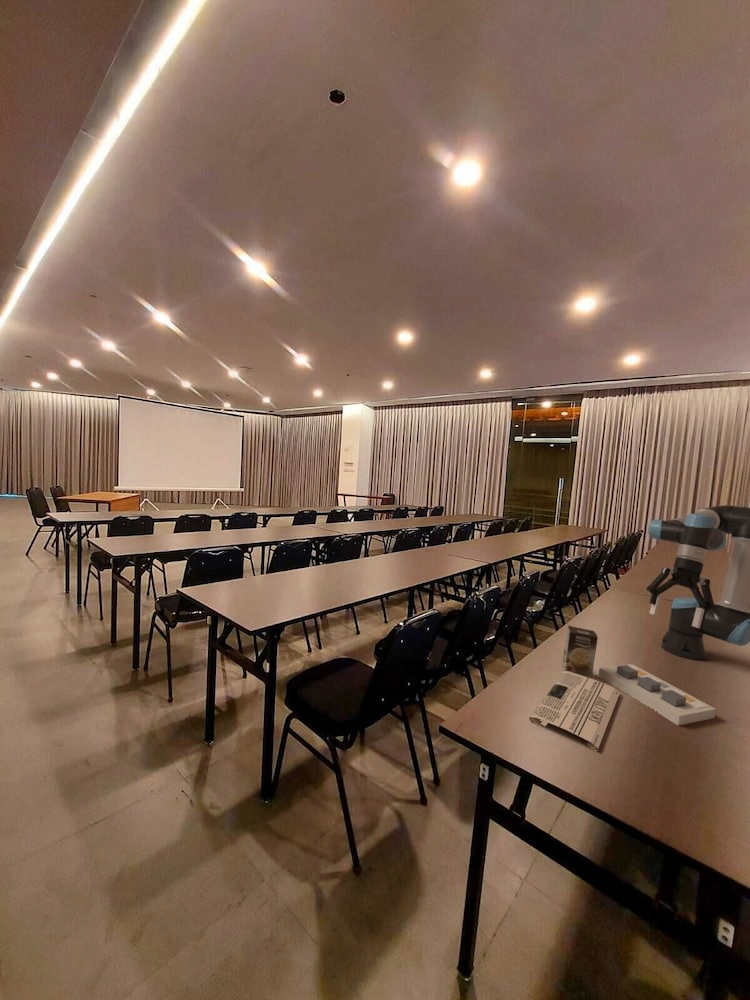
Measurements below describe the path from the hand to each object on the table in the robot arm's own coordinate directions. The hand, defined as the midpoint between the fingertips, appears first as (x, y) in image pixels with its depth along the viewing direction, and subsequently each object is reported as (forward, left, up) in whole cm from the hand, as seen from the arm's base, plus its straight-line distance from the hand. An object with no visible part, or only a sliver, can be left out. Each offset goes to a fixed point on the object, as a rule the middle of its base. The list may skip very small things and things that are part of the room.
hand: (674, 620), depth 134 cm
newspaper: (+37, +1, -26) cm, 45 cm away
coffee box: (+21, -17, -25) cm, 37 cm away
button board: (+6, 0, -25) cm, 26 cm away
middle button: (+8, 0, -23) cm, 25 cm away
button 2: (+8, +8, -23) cm, 26 cm away
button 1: (+8, -8, -23) cm, 26 cm away
